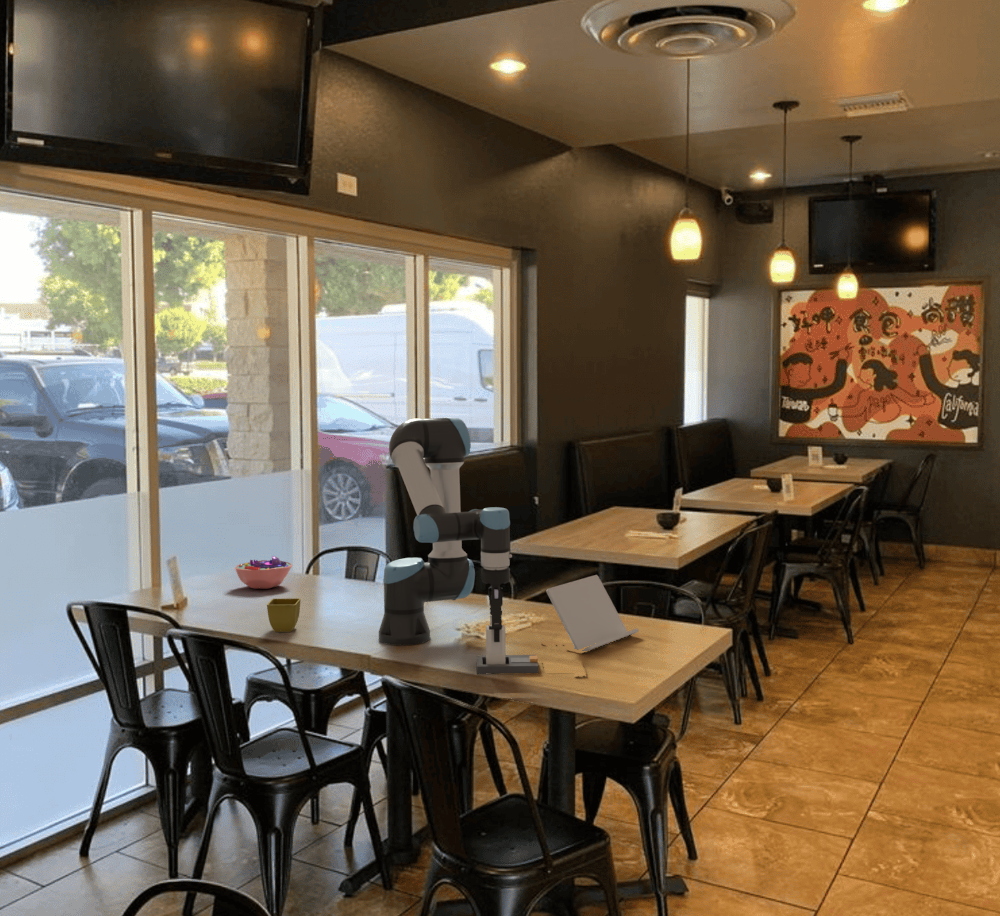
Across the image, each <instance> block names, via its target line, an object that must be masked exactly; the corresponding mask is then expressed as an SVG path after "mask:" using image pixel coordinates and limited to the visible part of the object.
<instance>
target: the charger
mask: <svg viewBox="0 0 1000 916" xmlns="http://www.w3.org/2000/svg"><path fill="white" fill-rule="evenodd" d="M489 626H492V625H490V624H489V625H488V624H486V625H485V655H486V664H505V655H506V625H505V624H502V654H491V630H489Z"/></svg>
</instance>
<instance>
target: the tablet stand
mask: <svg viewBox="0 0 1000 916" xmlns="http://www.w3.org/2000/svg"><path fill="white" fill-rule="evenodd" d="M545 592H546V594H547V596H548V598H549V599H550V602H551V604H552V607H553V608H554V610H555V612H556V614H557V615H558V618H559V619H560V622H561V623H562V625H563V627H564V629H565V632H566V633H568V635H569V637H570V639H571V641H572V643H573V645H574V649H577V650H579V649H582V648H584V647H587V646H589V647H587V648H585V649H584V650H582V651H589V650H592V649H594V650H596V649H595V648H597V647H600V646H602V647H604V646H603V645H605V644H608V643H610V642H612V641H615V642H617V641H616V640H618V641H620V640H619V639H621V638H623V639H625V638H624V637H626V638H628V637H627V636H629V635H631V636H633V635H635V634H637V633H638V632H639V631H640V630H639V628H636V627H635V628H634V629H632V630H629V631H628V630H627V627H626V626H625V624H624V622H623V620H622V619H621V616H620V615H619V613H618V611H617V609H616V607H615V605H614V603H613V601H612V599H611V597H610V596H609V594H608V592H607V589H606V588H605V587H604V584H603V582H602V580H601V578H600V577H599V576H598V574H595V575H591V576H587V577H584V578H581V579H580V578H579V579H577V580H573V581H570V582H566V583H562V584H559V585H556V586H553V587H549V588H547V589H546V591H545ZM632 634H633V635H632ZM629 637H630V636H629ZM621 640H622V639H621ZM595 643H596V644H595ZM610 644H611V643H610ZM590 645H591V646H590ZM608 645H609V644H608ZM605 646H606V645H605ZM600 648H601V647H600ZM597 649H598V648H597ZM592 651H593V650H592ZM589 652H590V651H589Z"/></svg>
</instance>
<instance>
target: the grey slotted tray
mask: <svg viewBox="0 0 1000 916" xmlns="http://www.w3.org/2000/svg"><path fill="white" fill-rule="evenodd" d="M538 659H539V658H538V655H536V654H505V664H486V654H484V655H483V654H482V655H481V654H479V655H476V675H487V674H486V673H539V670H540V669H539V661H538Z"/></svg>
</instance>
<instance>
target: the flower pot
mask: <svg viewBox="0 0 1000 916" xmlns="http://www.w3.org/2000/svg"><path fill="white" fill-rule="evenodd" d="M266 609H267V615H268V621H269V623H270V627H271V629H272V630H273V631H274V632H275V633H290V632H291V633H292V632H293V631H294V629H295V627H296V625H297V624H298V620H299V617H300V609H301V598H297V597H295V598H293V597H292V598H290V597H289V598H272V599H270V601H269V602H268V603H267V604H266Z"/></svg>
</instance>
